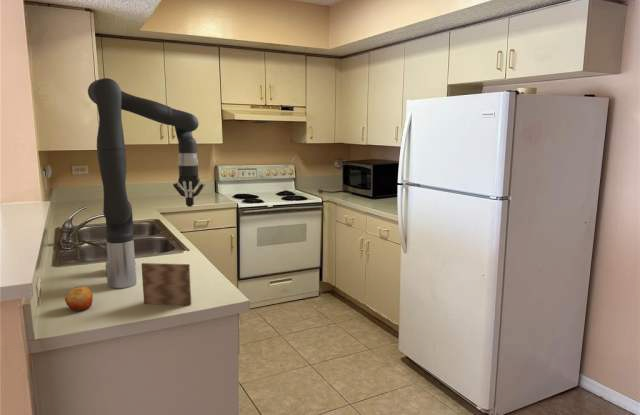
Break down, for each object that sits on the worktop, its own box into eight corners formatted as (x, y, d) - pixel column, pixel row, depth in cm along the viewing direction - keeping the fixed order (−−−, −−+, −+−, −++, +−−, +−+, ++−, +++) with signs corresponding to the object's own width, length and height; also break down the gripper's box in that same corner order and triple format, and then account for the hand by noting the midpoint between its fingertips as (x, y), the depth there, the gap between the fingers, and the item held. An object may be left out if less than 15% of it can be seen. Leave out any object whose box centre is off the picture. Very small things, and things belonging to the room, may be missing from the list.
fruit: (100, 297, 153) (93, 282, 148) (92, 317, 147) (84, 302, 142) (76, 297, 153) (68, 282, 148) (67, 317, 147) (58, 302, 142)
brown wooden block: (144, 303, 152) (141, 264, 149) (151, 297, 158) (149, 258, 155) (190, 305, 151) (188, 265, 149) (196, 298, 157) (194, 259, 154)
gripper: (168, 164, 177) (170, 207, 180) (201, 165, 177) (203, 208, 180) (175, 163, 185) (177, 204, 188) (207, 163, 184) (208, 205, 187)
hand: (190, 206), depth 184 cm, fingers closed
